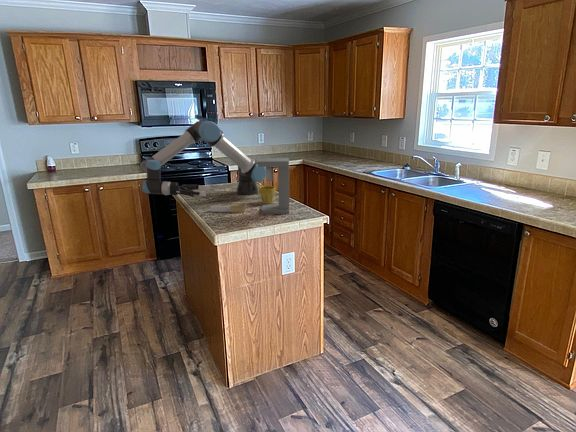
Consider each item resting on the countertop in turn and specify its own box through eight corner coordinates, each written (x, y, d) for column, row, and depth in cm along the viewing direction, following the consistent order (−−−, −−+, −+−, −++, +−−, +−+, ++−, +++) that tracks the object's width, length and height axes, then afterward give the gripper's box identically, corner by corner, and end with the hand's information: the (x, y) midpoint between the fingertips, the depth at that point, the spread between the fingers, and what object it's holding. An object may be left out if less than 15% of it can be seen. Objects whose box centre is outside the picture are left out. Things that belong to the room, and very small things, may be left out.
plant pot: (256, 203, 236) (256, 188, 233) (263, 199, 245) (263, 185, 242) (271, 205, 232) (271, 189, 229) (278, 201, 241) (277, 186, 238)
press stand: (261, 208, 226) (259, 158, 217) (289, 207, 226) (288, 158, 217) (259, 213, 215) (257, 161, 206) (289, 213, 214) (288, 161, 206)
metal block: (211, 209, 224) (211, 203, 222) (245, 209, 223) (245, 203, 222) (209, 212, 218) (209, 206, 217) (244, 212, 218) (243, 205, 216)
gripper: (176, 189, 230) (210, 192, 232) (164, 200, 207) (203, 202, 208) (176, 177, 228) (211, 180, 229) (164, 186, 204) (203, 189, 206)
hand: (207, 190), depth 219 cm, fingers open, 13 cm apart
